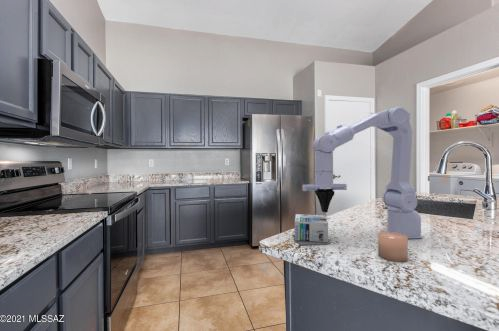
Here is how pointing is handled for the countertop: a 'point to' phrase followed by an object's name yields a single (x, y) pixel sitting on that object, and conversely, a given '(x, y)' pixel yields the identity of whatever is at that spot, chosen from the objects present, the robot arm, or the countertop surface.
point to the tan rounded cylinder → (393, 246)
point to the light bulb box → (311, 228)
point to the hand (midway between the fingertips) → (324, 211)
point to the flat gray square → (310, 242)
